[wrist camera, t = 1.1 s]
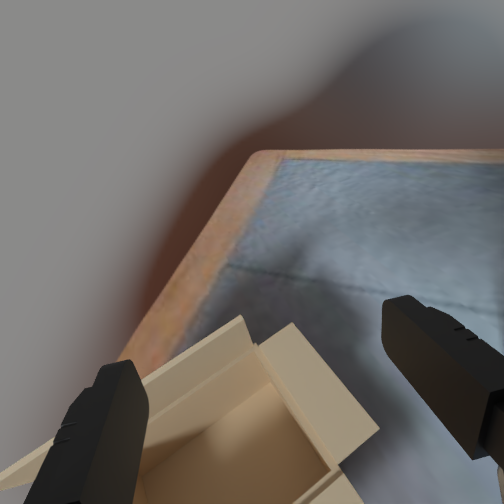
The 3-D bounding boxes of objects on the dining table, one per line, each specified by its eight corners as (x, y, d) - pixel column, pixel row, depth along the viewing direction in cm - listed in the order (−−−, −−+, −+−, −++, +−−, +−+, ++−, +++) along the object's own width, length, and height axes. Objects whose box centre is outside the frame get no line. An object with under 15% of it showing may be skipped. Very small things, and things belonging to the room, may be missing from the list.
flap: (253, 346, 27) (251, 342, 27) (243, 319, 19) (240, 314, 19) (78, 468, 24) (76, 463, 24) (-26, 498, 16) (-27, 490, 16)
